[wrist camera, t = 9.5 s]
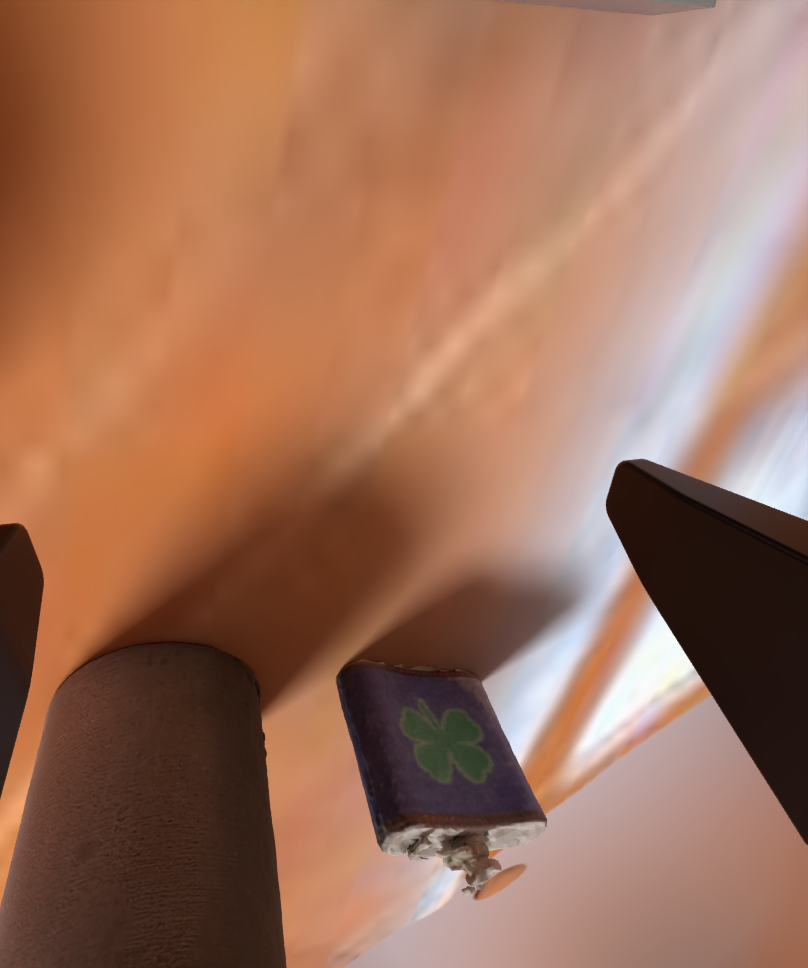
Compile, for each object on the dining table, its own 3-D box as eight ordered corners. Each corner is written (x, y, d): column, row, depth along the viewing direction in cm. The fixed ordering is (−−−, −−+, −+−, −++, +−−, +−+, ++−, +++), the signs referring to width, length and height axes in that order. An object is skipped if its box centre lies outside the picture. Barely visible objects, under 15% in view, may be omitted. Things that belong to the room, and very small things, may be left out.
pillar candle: (280, 642, 29) (337, 1037, 17) (239, 766, 33) (262, 1150, 21) (50, 635, 25) (-87, 1144, 13) (39, 778, 29) (-72, 1256, 17)
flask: (486, 670, 35) (579, 860, 27) (461, 703, 36) (543, 894, 28) (345, 654, 31) (403, 874, 22) (323, 692, 32) (370, 914, 23)
